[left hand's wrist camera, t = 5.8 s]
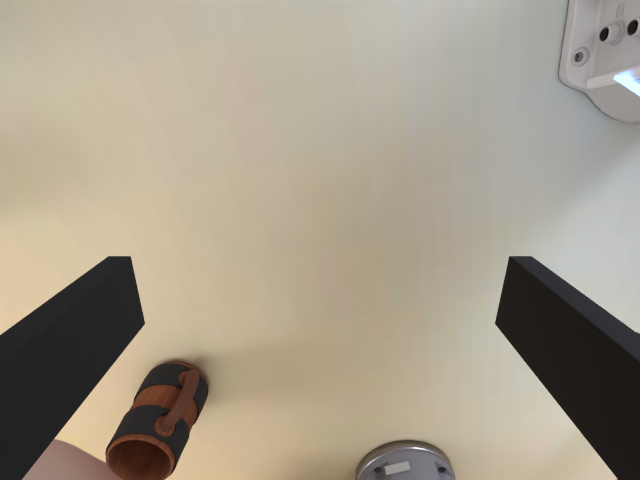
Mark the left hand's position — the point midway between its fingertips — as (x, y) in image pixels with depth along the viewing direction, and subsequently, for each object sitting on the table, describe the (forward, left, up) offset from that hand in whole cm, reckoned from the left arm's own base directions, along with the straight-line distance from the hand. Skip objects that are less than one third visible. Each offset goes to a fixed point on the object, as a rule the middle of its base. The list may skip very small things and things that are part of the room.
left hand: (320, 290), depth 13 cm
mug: (-29, +19, -28) cm, 45 cm away
